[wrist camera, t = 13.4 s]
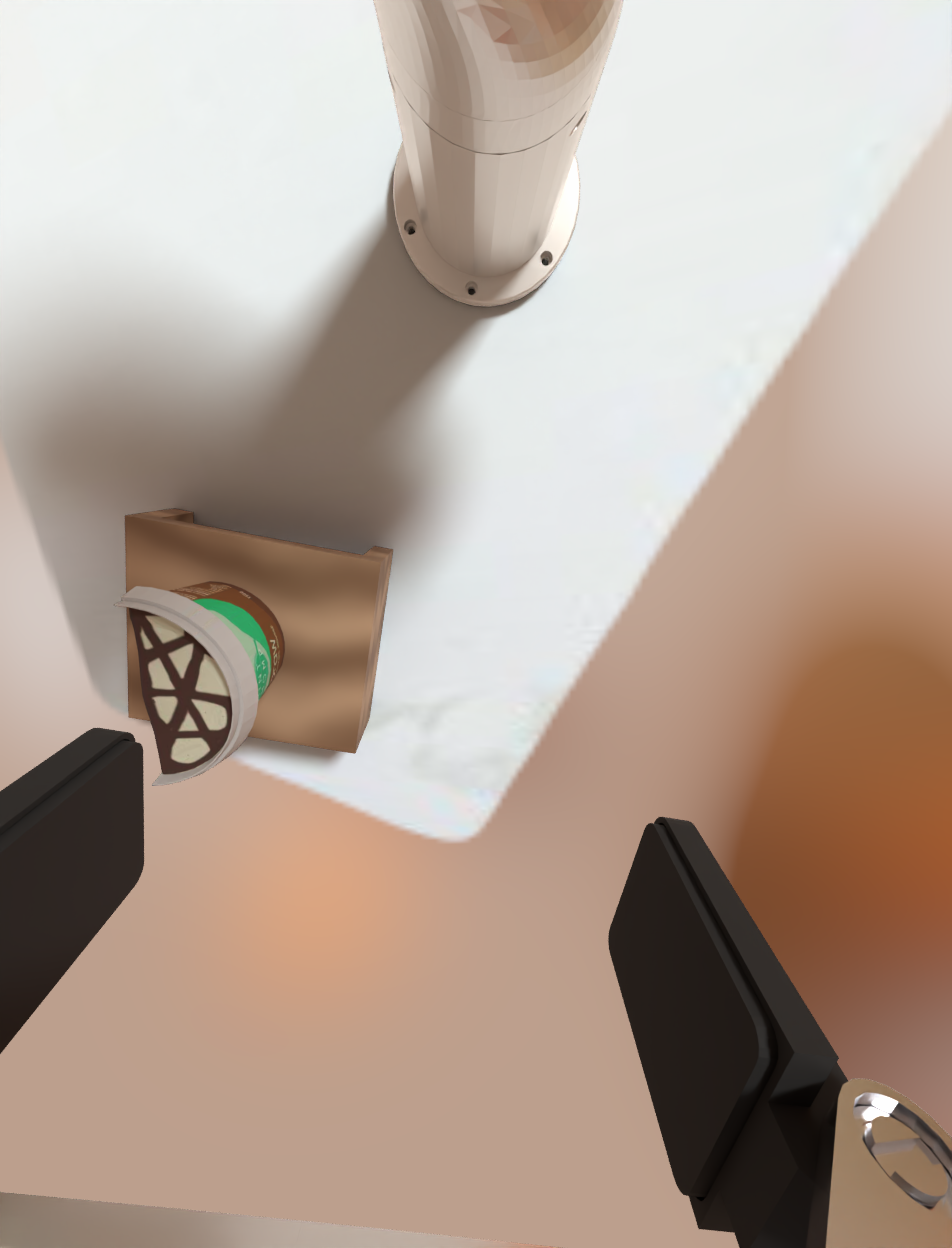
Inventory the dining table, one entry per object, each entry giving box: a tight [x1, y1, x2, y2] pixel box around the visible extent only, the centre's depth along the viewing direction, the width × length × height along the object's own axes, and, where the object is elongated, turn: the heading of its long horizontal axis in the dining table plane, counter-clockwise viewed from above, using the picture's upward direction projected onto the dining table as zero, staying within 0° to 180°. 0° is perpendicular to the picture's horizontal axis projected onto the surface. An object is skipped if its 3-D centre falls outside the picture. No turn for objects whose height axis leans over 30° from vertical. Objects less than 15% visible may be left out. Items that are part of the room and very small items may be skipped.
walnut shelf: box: [125, 508, 393, 753], centre depth 41 cm, size 16×18×6 cm
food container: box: [114, 581, 285, 786], centre depth 33 cm, size 12×6×10 cm, turn 179°
